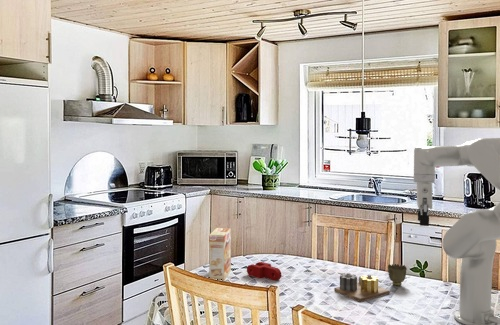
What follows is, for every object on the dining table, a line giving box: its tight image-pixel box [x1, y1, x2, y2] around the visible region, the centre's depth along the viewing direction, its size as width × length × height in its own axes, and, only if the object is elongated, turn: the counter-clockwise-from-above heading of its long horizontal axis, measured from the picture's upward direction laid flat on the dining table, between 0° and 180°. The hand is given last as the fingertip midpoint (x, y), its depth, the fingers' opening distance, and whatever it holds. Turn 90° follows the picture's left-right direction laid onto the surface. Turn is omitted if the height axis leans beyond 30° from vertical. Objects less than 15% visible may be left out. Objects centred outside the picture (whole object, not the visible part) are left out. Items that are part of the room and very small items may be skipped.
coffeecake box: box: [208, 227, 232, 281], centre depth 209 cm, size 15×7×20 cm, turn 171°
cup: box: [387, 263, 408, 287], centre depth 194 cm, size 8×7×8 cm
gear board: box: [333, 272, 391, 303], centre depth 186 cm, size 14×16×7 cm
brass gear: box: [361, 275, 379, 293], centre depth 185 cm, size 7×7×5 cm
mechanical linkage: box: [246, 261, 282, 281], centre depth 207 cm, size 16×7×5 cm, turn 46°
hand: (423, 223), depth 181 cm, fingers open, 9 cm apart
